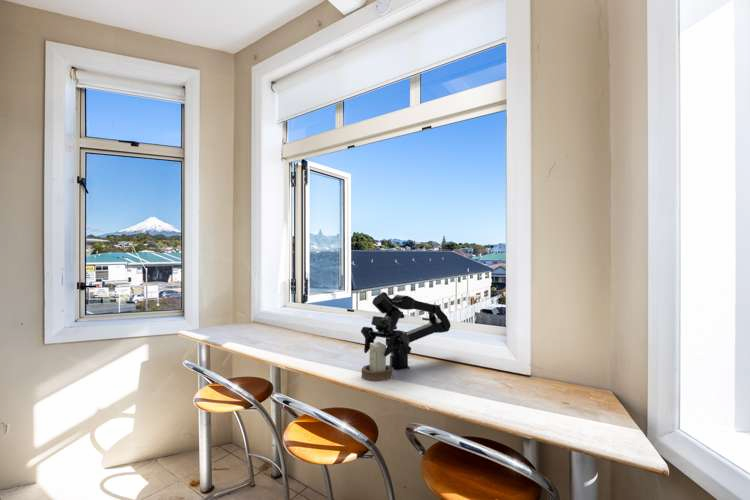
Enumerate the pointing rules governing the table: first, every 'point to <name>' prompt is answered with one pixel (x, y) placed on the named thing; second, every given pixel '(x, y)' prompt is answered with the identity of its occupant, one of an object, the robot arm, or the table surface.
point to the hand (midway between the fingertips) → (374, 354)
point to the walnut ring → (376, 374)
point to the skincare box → (377, 357)
